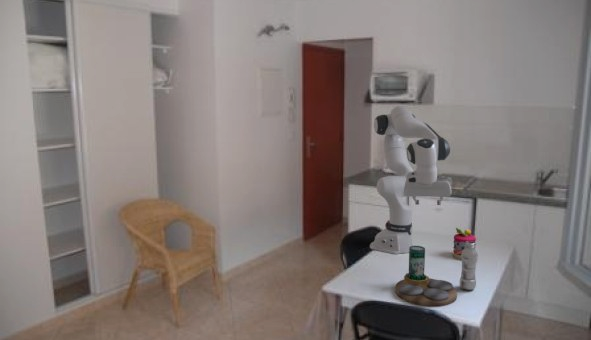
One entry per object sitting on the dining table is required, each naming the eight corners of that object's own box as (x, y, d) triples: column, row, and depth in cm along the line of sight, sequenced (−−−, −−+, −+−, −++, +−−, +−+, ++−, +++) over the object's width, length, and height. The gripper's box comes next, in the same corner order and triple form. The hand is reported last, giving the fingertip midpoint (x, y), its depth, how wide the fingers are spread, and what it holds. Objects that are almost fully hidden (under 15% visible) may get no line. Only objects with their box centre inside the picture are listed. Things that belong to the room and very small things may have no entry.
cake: (464, 252, 241) (466, 224, 239) (479, 259, 231) (481, 229, 229) (448, 255, 237) (449, 226, 235) (462, 262, 227) (464, 232, 225)
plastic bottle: (455, 288, 197) (458, 242, 194) (465, 284, 201) (467, 239, 198) (469, 293, 192) (472, 246, 189) (479, 289, 196) (481, 242, 193)
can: (412, 285, 195) (413, 250, 192) (406, 280, 201) (407, 246, 198) (426, 284, 196) (427, 249, 194) (419, 278, 202) (420, 245, 200)
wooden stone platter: (388, 299, 187) (388, 288, 186) (403, 278, 208) (403, 268, 207) (451, 311, 176) (452, 299, 175) (460, 288, 197) (461, 277, 196)
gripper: (452, 173, 204) (452, 201, 210) (404, 173, 212) (405, 200, 217) (451, 179, 199) (452, 208, 204) (402, 179, 206) (404, 207, 211)
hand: (428, 204), depth 211 cm, fingers open, 8 cm apart
